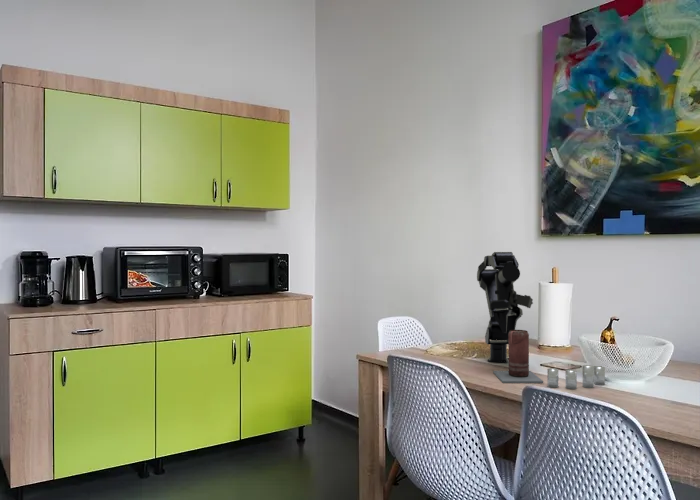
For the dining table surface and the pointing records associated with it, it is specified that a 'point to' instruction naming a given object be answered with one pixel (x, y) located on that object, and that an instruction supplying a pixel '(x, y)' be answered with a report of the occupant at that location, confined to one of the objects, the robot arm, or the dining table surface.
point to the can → (518, 353)
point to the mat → (517, 378)
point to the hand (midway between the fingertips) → (508, 334)
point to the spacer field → (589, 377)
